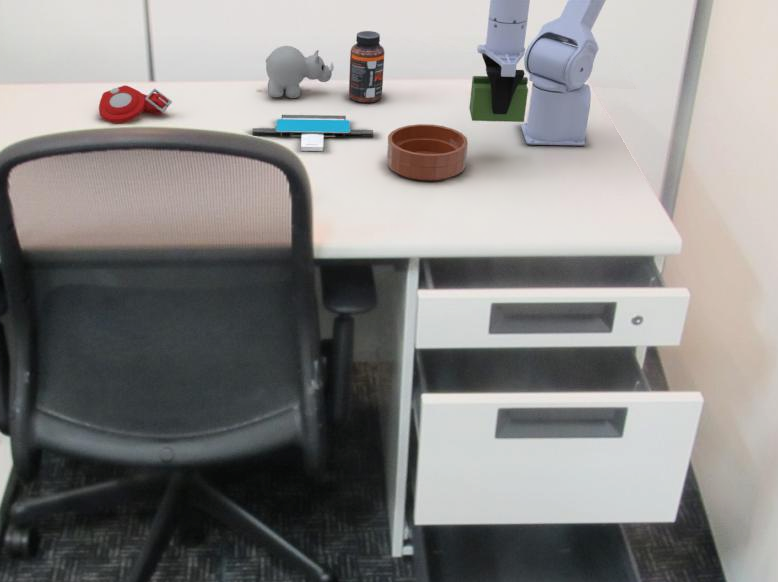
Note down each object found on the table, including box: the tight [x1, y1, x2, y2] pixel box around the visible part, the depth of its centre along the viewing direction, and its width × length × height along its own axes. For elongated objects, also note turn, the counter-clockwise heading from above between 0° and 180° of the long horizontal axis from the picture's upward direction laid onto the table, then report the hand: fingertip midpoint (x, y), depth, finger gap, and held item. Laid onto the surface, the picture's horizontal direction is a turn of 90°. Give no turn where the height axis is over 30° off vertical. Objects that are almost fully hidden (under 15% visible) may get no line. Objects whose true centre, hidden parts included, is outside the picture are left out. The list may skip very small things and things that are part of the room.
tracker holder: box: [98, 84, 173, 124], centre depth 192 cm, size 12×4×10 cm
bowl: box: [386, 123, 468, 182], centre depth 174 cm, size 12×12×4 cm
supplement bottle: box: [348, 30, 385, 103], centre depth 196 cm, size 6×6×11 cm
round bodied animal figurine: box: [265, 45, 334, 99], centre depth 198 cm, size 7×12×8 cm, turn 92°
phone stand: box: [251, 114, 374, 152], centre depth 184 cm, size 20×12×2 cm, turn 89°
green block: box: [469, 75, 529, 123], centre depth 172 cm, size 8×5×6 cm, turn 87°
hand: (497, 106), depth 173 cm, fingers closed on green block, 5 cm apart
